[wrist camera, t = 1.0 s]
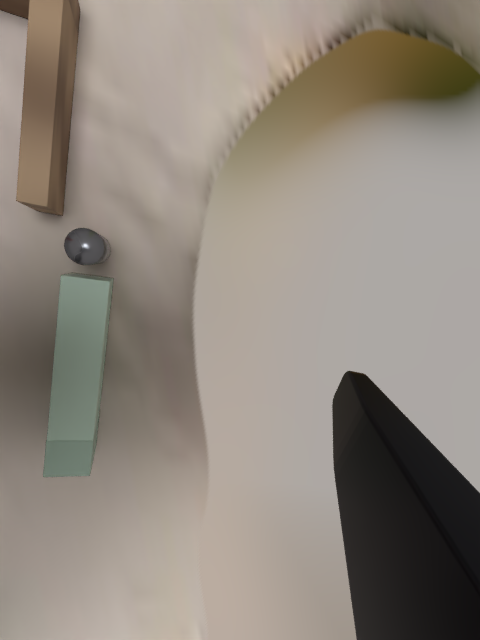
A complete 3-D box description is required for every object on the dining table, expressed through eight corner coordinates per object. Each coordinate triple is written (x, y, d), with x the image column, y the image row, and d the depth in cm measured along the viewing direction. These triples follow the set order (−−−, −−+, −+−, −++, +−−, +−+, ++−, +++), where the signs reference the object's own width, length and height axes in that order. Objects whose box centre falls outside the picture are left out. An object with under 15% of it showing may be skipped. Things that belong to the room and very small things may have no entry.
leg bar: (95, 446, 21) (89, 475, 18) (55, 446, 21) (42, 477, 18) (113, 278, 20) (110, 281, 17) (71, 272, 19) (60, 275, 16)
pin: (109, 265, 20) (102, 267, 15) (78, 261, 19) (62, 261, 15) (112, 237, 19) (105, 231, 15) (81, 232, 19) (65, 224, 15)
